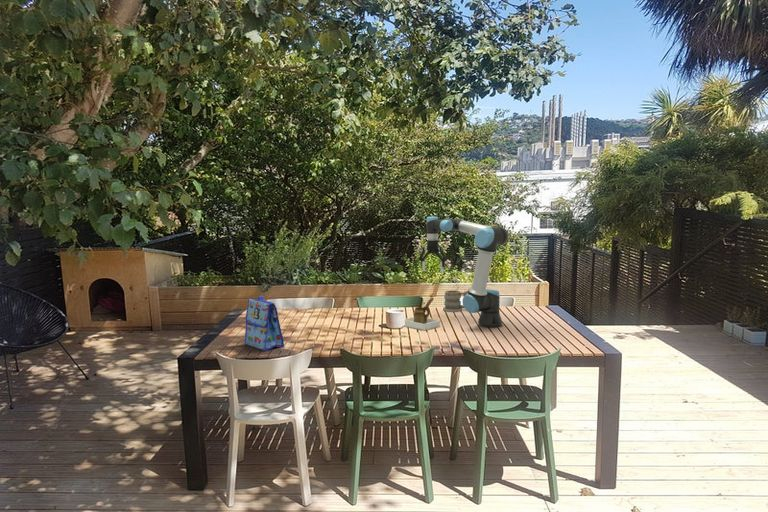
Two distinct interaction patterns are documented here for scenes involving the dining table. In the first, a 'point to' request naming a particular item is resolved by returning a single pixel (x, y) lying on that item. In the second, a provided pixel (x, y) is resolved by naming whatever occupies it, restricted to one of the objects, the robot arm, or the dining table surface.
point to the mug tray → (429, 325)
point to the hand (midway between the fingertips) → (433, 271)
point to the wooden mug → (422, 313)
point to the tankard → (453, 301)
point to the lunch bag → (262, 325)
